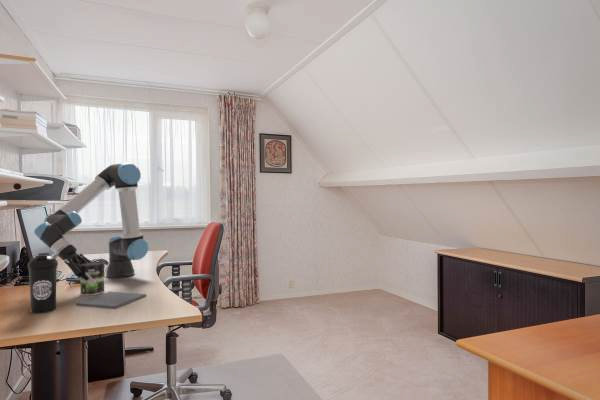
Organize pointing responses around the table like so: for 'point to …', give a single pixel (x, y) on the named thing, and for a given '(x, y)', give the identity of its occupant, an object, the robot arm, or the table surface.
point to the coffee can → (97, 274)
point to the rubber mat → (111, 299)
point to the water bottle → (42, 283)
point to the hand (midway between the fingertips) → (99, 281)
